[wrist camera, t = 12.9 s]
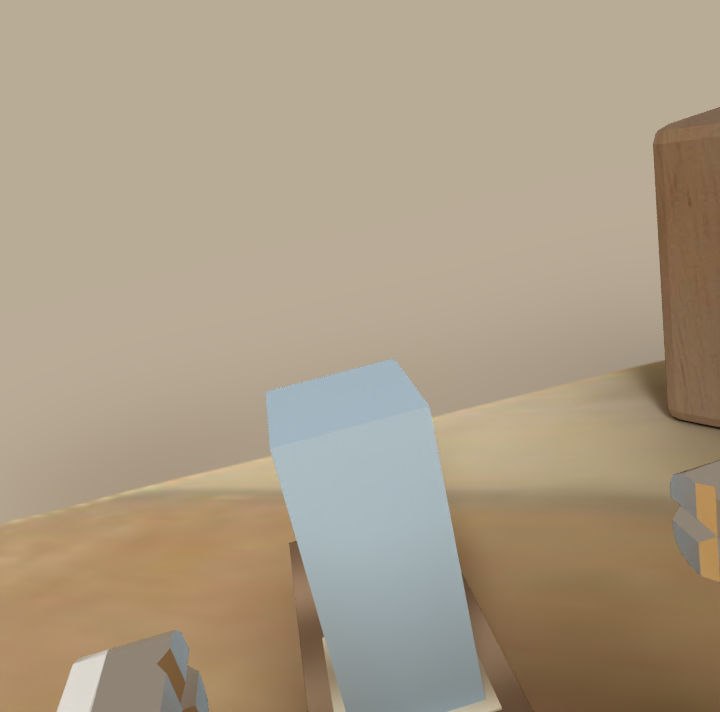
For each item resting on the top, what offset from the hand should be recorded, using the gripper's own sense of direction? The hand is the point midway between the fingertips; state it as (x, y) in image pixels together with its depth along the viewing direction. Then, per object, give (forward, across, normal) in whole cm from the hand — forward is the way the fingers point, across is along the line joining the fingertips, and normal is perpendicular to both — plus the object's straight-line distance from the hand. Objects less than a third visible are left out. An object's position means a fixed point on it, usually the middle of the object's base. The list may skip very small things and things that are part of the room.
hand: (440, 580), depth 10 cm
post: (+12, +1, +14) cm, 18 cm away
